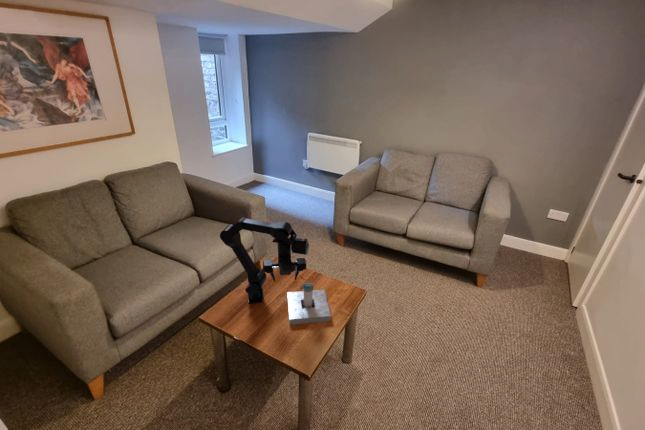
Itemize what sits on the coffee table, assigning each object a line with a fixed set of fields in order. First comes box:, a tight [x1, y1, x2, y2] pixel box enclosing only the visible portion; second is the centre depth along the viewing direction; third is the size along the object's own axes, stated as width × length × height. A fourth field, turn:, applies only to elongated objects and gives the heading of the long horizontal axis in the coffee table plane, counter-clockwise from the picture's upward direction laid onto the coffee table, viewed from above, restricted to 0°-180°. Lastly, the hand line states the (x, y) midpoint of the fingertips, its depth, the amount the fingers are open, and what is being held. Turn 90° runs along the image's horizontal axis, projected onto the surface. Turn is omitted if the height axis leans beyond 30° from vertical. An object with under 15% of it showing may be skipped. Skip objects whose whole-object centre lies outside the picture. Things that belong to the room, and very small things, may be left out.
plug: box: [302, 282, 314, 309], centre depth 141 cm, size 5×5×13 cm
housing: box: [286, 289, 332, 326], centre depth 143 cm, size 18×18×3 cm
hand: (285, 280), depth 141 cm, fingers open, 9 cm apart
